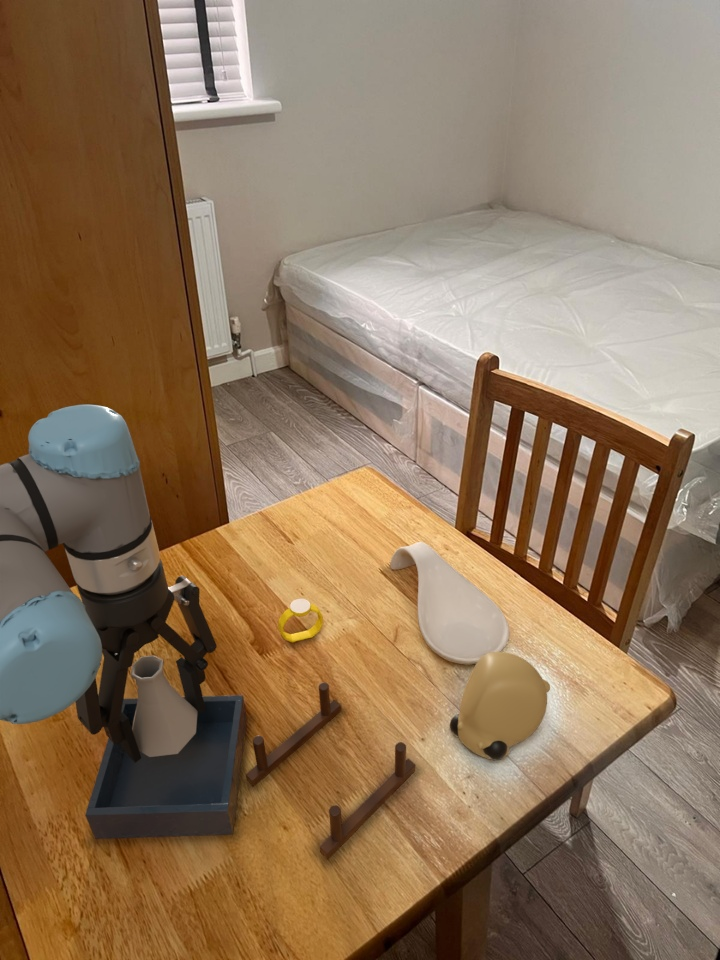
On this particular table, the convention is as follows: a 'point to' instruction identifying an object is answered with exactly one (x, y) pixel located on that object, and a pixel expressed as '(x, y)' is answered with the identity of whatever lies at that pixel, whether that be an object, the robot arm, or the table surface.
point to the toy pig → (500, 705)
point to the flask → (160, 711)
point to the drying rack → (338, 829)
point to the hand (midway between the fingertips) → (164, 727)
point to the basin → (174, 780)
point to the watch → (300, 609)
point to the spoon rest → (452, 608)
